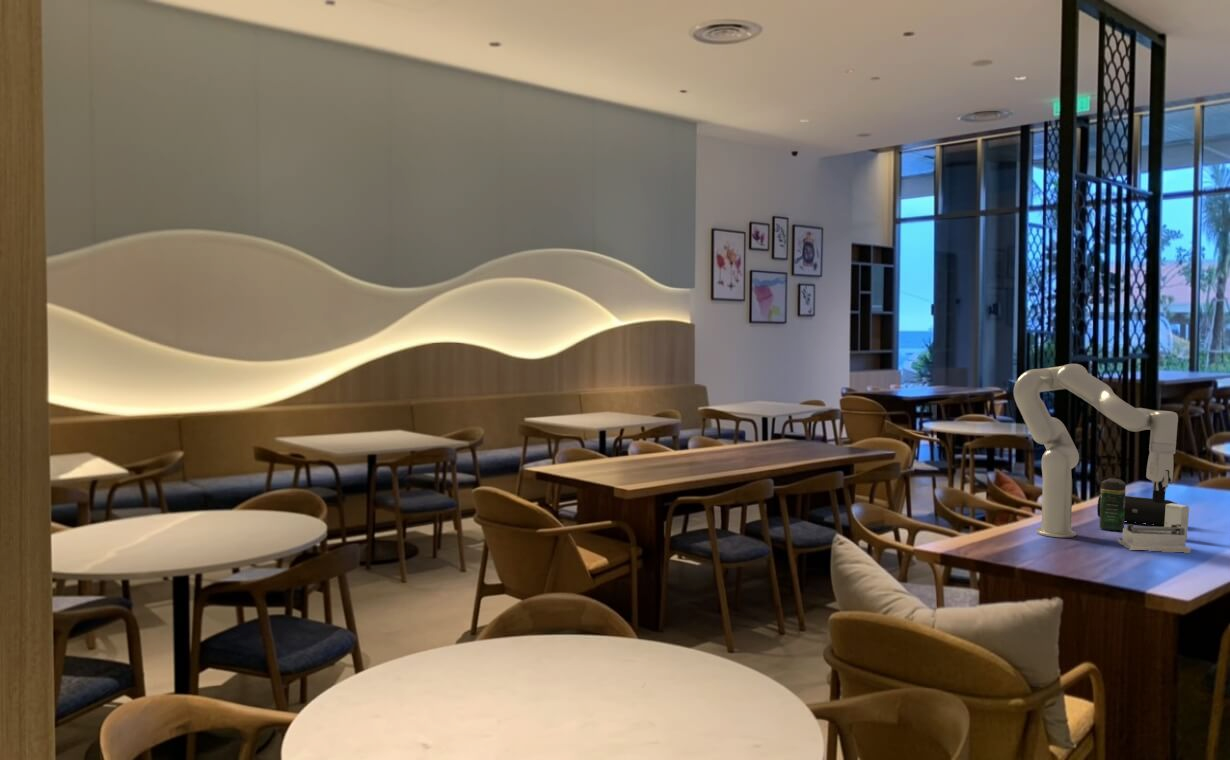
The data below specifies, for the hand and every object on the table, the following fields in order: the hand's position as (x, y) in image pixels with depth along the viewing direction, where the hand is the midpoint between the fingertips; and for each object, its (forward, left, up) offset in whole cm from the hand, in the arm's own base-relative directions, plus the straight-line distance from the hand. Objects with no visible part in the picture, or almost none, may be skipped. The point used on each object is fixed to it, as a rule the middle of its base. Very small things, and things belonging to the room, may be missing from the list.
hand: (1158, 502), depth 303 cm
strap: (0, -1, -9) cm, 9 cm away
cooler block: (0, -1, -15) cm, 15 cm away
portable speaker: (-44, +9, -16) cm, 47 cm away
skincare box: (-16, +12, -16) cm, 25 cm away
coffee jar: (-30, -4, -16) cm, 34 cm away
